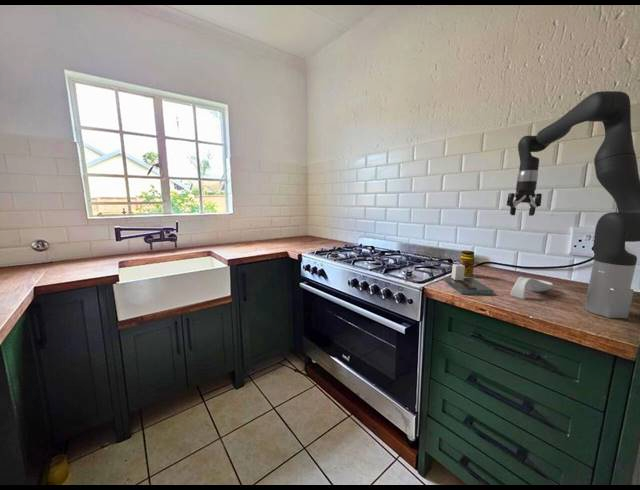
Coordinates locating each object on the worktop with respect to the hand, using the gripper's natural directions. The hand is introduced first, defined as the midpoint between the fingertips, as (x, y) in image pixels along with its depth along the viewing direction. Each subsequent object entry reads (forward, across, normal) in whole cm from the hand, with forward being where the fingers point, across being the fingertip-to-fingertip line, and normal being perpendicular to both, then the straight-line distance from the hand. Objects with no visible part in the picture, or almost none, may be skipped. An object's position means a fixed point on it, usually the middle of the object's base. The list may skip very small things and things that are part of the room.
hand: (521, 215), depth 129 cm
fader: (+27, -36, -18) cm, 48 cm away
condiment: (+30, -25, -3) cm, 39 cm away
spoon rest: (+30, -11, -26) cm, 41 cm away
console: (+29, -34, -23) cm, 50 cm away
